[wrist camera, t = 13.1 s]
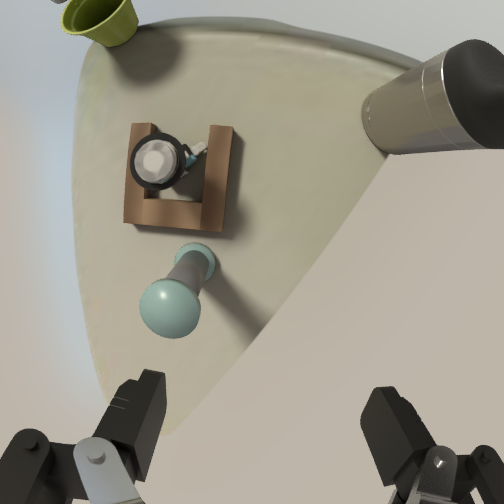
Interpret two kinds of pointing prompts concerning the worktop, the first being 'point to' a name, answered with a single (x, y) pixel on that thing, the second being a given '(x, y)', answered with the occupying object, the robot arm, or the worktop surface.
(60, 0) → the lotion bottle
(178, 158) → the push button
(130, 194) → the notched board
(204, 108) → the worktop surface
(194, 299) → the spool
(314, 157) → the worktop surface
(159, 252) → the worktop surface
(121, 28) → the plant pot
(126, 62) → the worktop surface
